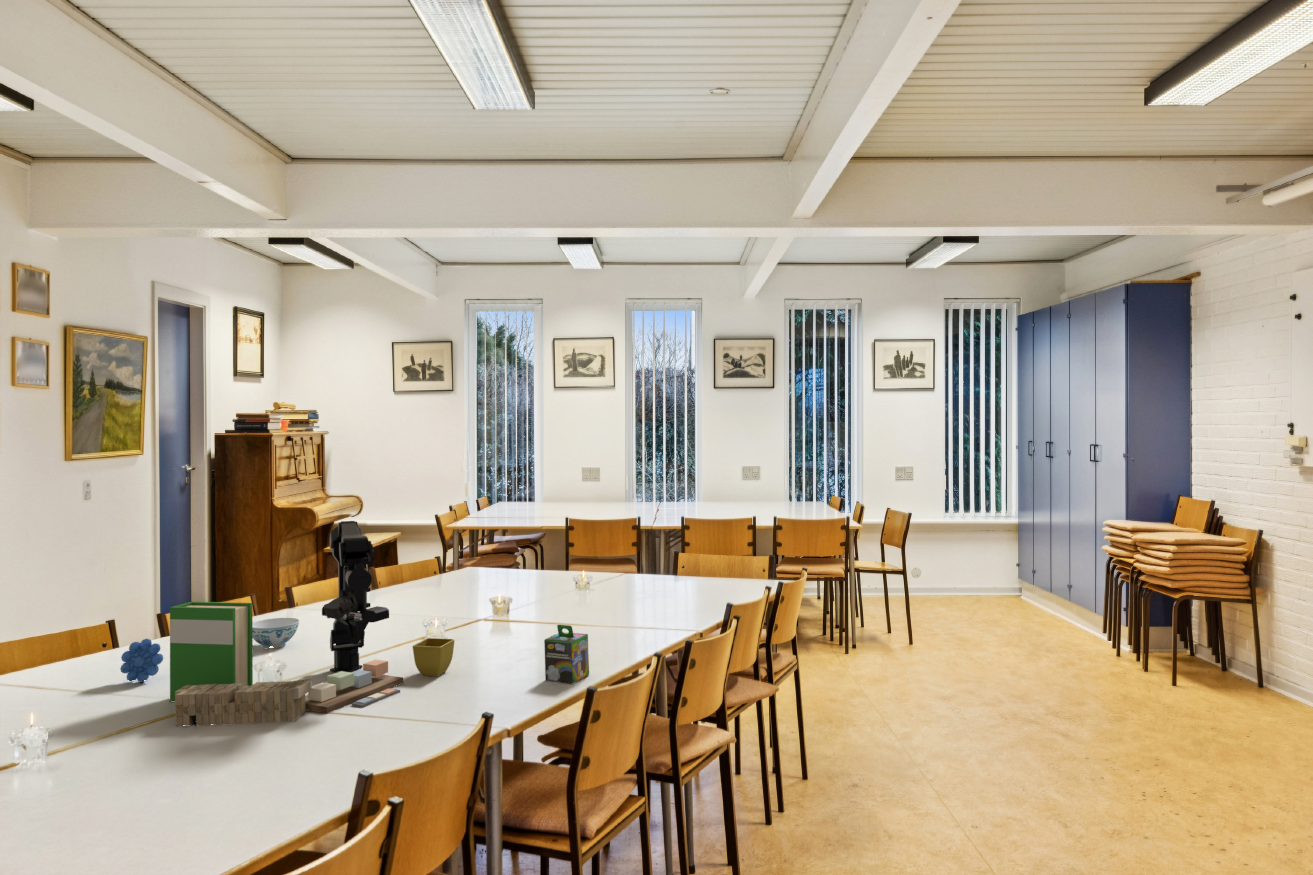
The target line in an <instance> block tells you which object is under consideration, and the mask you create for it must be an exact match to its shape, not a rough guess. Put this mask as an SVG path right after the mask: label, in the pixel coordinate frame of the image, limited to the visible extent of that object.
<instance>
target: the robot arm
mask: <svg viewBox="0 0 1313 875" xmlns="http://www.w3.org/2000/svg"><path fill="white" fill-rule="evenodd" d="M329 549H330V550H331V554H332V556H333V558H334V559H335V561H336V562H337V564H338V565H337V576H338V577H337V578H338V579H337V580H338V582H337V583H338V584H337V585H338V586H337V587H338V597H336V598H334V599H333V600H331V601H330V602H328V603H325V604H324V605H323V606H322V608H321V616H323V617H326V618H327V619H333V620H334V621H333V623H332V629H330V637H329V649H330V651H331V652H333V662H334V663H333V667H331V668H330V669H329V671H330V672H335V673H338V672H340V671H343V672H350V673H351V672H354V671H357V670H360V669H361V668H362V669H363V664H362V665H361V664H360V652H359V649H361V648H363V647H365V635H366V632H365V630H366V629H367V626H368V624H369V623H377V622H380V621H384V620H386V619H390V610H389V608H387V607H385V606H377V605H376V606H373V607H371V602H368V593H370V592H371V584H372V582H373V578H372V575H371V573H370V572H369V570H368V567H367V565H373V564H374V560H375V551H374V544H372V540H369V537H368V536H367V535H365V534H362V529H361V528H360V527H359V525H358V521H356V520H342V521H340V522H337V526H336V527H334V528H333V529H332V530H331V531H330V534H329Z"/></svg>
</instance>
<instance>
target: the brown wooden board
mask: <svg viewBox="0 0 1313 875" xmlns="http://www.w3.org/2000/svg"><path fill="white" fill-rule="evenodd" d="M401 683H402V684H404V677H401V676H397V675H395V676H394V675H388V674H382V675H379V676H377V677H374V676H372V683H371V684H368V685H365V686H363V687H360V688H356V687H347V688H344V689H342V690H339V689H336V697H333V698H331V699H328V700H325V701H323V702H319V701H313V700H308V694H307V695H305V701H306V711H312V712H317V713H323V714H328V713H331V712H334V710H335V711H336V710H339V709H342V708H344V706H345V707H347V706H349V705H352V703H354V702H356V701H358V700H360V699H363V698H366V697H368V696H371V695H373V694H376V693H379V692H381V691H383V690H386V689H389V688H391V689H393V688H395V687H397V686H399V684H400V685H402V684H401ZM396 685H397V686H396ZM394 686H395V687H394Z"/></svg>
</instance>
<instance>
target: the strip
mask: <svg viewBox="0 0 1313 875" xmlns="http://www.w3.org/2000/svg"><path fill="white" fill-rule="evenodd" d="M398 692H399V693H401V689H397V688H389V689H386V690H383V691H381V692H379V693H376V694H373V695H371V696H368V697H366V698H363V699H360V700H358V701H356V702H354V703H352V704H351V706H352V707H356V706H358V707H357V708H362V707H363V708H365V707H367V706H370V705H372V703H373V704H375V703H378V702H380V701H383V700H384V699H386V698H387V699H388V698H389V696H390V697H392V696H394V695H397V694H399V693H398ZM379 700H380V701H379Z"/></svg>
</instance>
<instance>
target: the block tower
mask: <svg viewBox="0 0 1313 875" xmlns="http://www.w3.org/2000/svg"><path fill="white" fill-rule="evenodd" d="M311 686H312V679H298V680H290V681H289V680H287V681H285V680H284V681H263V682H260V681H257V682H255V683H253V685H252V686H244V687H242V683H237V684H219V685H217V684H211V685H210V684H206V685H193V686H192V685H186V686H184V687H182V688H181V689H179V690H177V691H175V702H174V704H175V725H176V727H184V726H183V725H190V726H192V725H193V724H195V725H202V726H203V725H204V726H212V725H211V724H216V725H215V726H222V725H223V724H228V725H246V724H250V725H251V724H270V723H271V724H272V723H273V724H274V723H288V722H289V723H292V722H293V721H294V722H295V721H296V720H297V719H298V718H299V717H301V716H302V715H301V714H304V713H305V712H306V711H307V710H306V701H305V696H306V694H308V692H309V691H310V690H311ZM195 721H196V722H195ZM194 722H195V723H194ZM192 723H193V724H192ZM191 724H192V725H191Z"/></svg>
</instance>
